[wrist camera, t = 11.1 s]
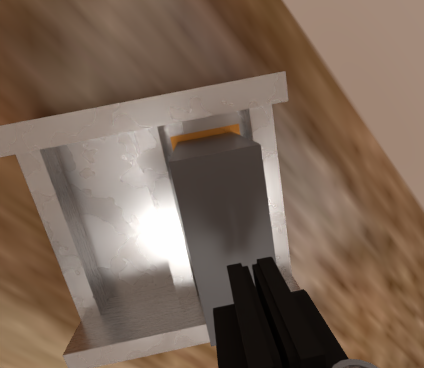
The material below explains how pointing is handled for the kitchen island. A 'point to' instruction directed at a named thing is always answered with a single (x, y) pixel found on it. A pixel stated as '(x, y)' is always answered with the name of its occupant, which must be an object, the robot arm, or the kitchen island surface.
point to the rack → (137, 210)
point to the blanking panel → (221, 212)
